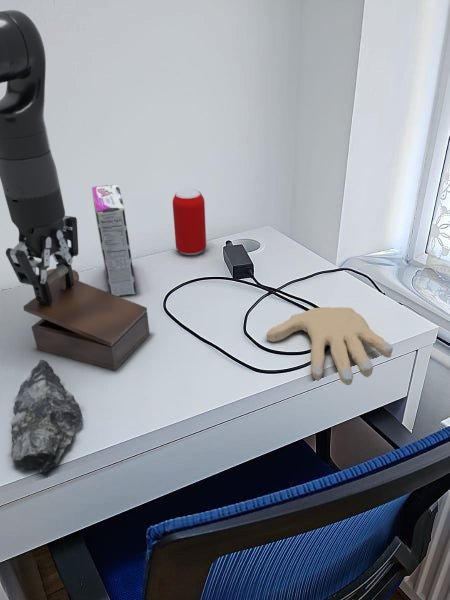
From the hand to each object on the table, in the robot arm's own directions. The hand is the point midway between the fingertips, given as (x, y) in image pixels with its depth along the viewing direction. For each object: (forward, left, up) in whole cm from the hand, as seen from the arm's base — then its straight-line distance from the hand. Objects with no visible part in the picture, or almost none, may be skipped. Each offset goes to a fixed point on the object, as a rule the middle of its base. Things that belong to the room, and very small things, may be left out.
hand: (56, 294), depth 91 cm
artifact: (-7, +9, -8) cm, 14 cm away
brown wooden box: (+6, 0, -8) cm, 9 cm away
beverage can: (+6, +36, -8) cm, 37 cm away
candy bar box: (-1, +19, -8) cm, 20 cm away
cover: (+5, 0, -2) cm, 6 cm away
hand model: (+37, +22, -8) cm, 44 cm away
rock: (+13, -19, -11) cm, 25 cm away
